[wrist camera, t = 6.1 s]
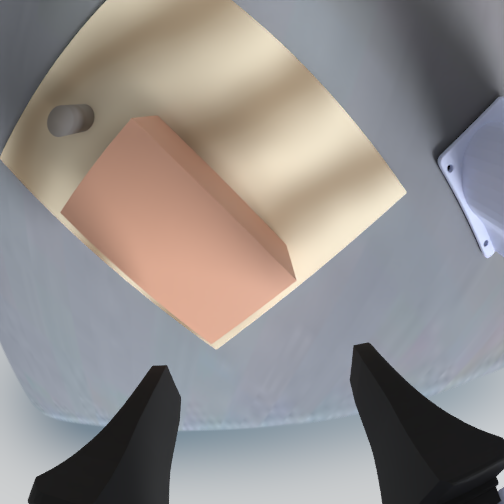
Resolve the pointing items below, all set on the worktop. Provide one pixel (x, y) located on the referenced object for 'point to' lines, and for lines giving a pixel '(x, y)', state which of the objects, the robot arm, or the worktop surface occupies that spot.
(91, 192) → the pink channel block
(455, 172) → the robot arm
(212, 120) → the board
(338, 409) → the worktop surface
